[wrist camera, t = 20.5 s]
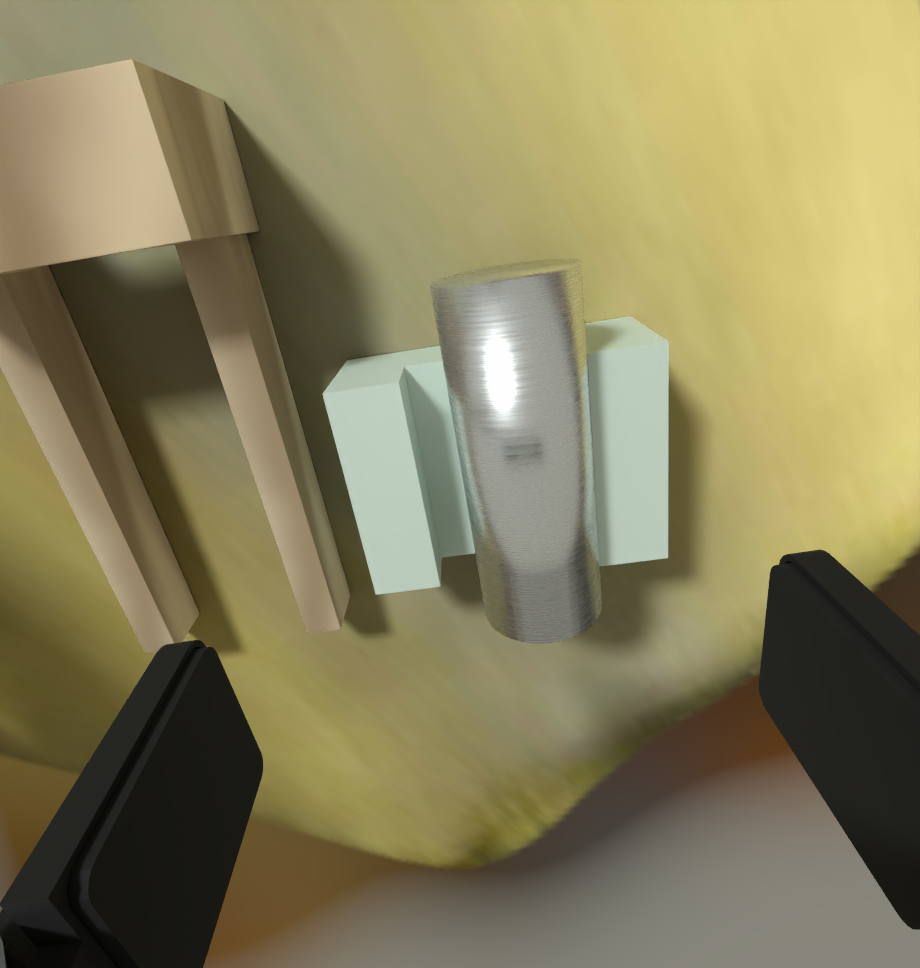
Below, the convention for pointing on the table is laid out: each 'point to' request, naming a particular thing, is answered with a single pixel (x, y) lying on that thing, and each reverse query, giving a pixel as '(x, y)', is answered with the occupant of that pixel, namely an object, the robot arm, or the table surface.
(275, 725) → the table surface
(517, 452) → the axle
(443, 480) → the v block
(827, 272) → the table surface
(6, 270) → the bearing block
